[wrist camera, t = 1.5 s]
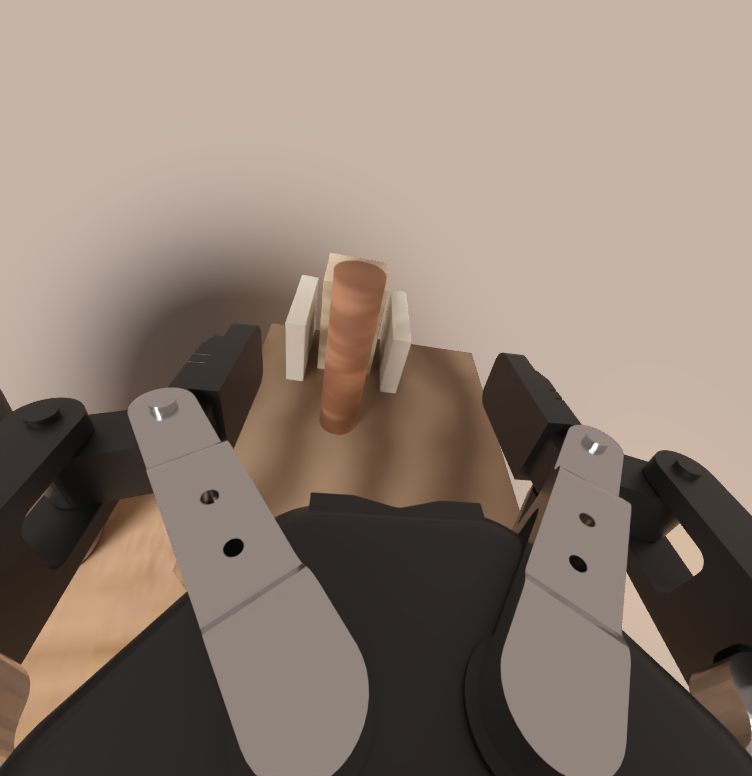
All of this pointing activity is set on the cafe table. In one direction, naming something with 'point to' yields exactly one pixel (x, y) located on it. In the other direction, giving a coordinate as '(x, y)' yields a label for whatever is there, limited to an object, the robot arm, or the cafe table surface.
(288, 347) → the upright cream panels
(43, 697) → the cafe table surface
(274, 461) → the open wooden cabinet
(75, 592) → the cafe table surface
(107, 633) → the cafe table surface
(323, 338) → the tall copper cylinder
